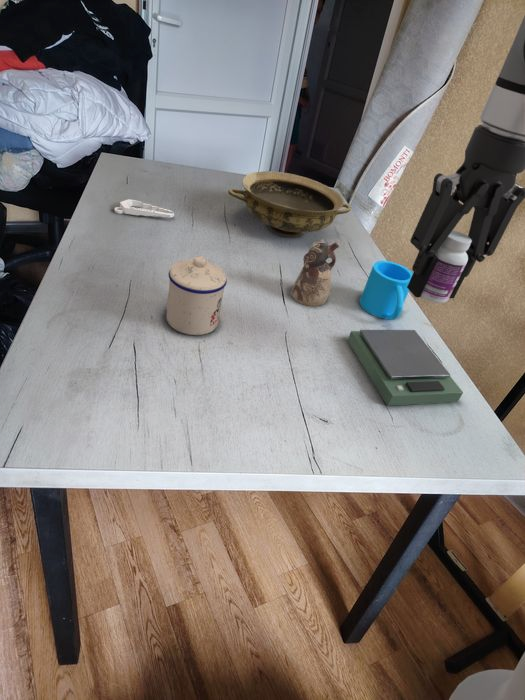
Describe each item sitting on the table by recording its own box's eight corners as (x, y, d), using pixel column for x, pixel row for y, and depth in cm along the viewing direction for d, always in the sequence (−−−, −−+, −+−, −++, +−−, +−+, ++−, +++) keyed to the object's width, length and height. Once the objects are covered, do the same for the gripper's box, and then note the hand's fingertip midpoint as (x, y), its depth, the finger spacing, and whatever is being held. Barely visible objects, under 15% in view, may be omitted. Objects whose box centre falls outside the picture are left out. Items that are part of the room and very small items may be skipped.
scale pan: (449, 377, 77) (450, 375, 77) (390, 379, 74) (391, 376, 73) (413, 332, 86) (414, 329, 85) (359, 332, 82) (360, 329, 82)
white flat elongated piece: (174, 213, 112) (175, 206, 111) (173, 222, 108) (173, 214, 107) (117, 203, 109) (117, 196, 108) (113, 212, 106) (113, 205, 105)
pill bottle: (452, 307, 70) (483, 247, 65) (418, 301, 70) (446, 241, 64) (441, 288, 75) (468, 231, 69) (409, 283, 74) (434, 224, 68)
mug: (355, 293, 98) (368, 258, 93) (391, 298, 100) (406, 263, 95) (370, 328, 89) (385, 291, 84) (410, 332, 91) (428, 296, 86)
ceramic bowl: (330, 216, 129) (341, 180, 123) (355, 259, 111) (369, 219, 105) (220, 201, 123) (226, 161, 117) (226, 244, 104) (234, 200, 98)
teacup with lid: (221, 339, 77) (232, 277, 70) (164, 335, 75) (169, 270, 68) (216, 298, 87) (225, 239, 80) (165, 294, 85) (170, 233, 78)
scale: (457, 402, 77) (464, 390, 75) (387, 406, 73) (393, 393, 71) (409, 340, 88) (415, 328, 87) (347, 340, 84) (352, 328, 83)
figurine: (291, 283, 96) (306, 228, 89) (325, 290, 97) (343, 236, 90) (291, 302, 91) (306, 245, 83) (327, 309, 91) (346, 253, 84)
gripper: (544, 132, 64) (465, 281, 78) (429, 112, 58) (366, 277, 72) (586, 150, 58) (493, 308, 72) (463, 130, 52) (388, 305, 66)
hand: (430, 292), depth 72 cm, fingers closed on pill bottle, 5 cm apart
